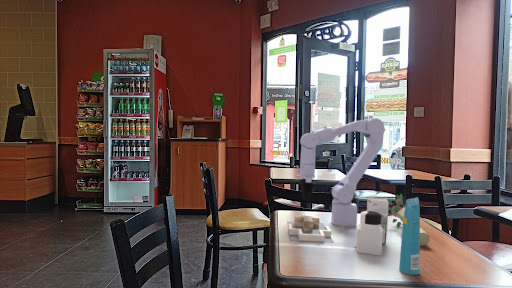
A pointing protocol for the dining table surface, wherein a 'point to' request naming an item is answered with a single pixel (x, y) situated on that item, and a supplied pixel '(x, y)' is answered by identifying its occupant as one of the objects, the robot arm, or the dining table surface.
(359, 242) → the medicine bottle
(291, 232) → the dock
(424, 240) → the flower vase
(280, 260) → the dining table surface
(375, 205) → the syrup box
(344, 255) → the dining table surface
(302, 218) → the t block
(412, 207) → the tube
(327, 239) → the board
